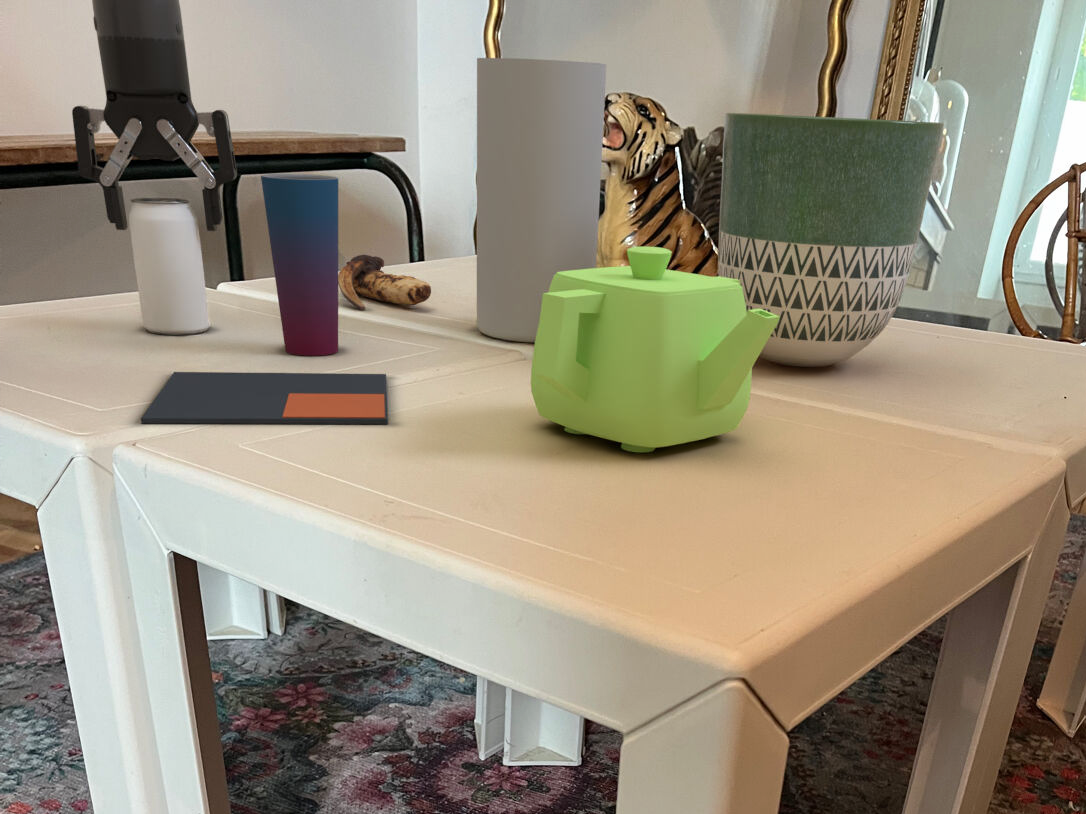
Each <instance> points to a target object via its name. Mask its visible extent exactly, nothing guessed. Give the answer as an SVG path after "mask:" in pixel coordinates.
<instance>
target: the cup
mask: <svg viewBox="0 0 1086 814" xmlns="http://www.w3.org/2000/svg"><path fill="white" fill-rule="evenodd" d="M260 181H261V186H262V194H263V200H264V208H265V215H266V223H267V229H268V237H269V243H270V251H271V256H272V257H271V259H272V264H273V265H272V266H273V273H274V279H275V280H274V281H275V286H276V287H275V288H276V294H277V301H278V307H279V309H278V310H279V313H280V314H279V315H280V316H279V317H280V321H281V329H282V336H283V345H284V350H285V352H286V353H287V354H291V355H295V356H303V357H318V356H319V357H320V356H329V355H334V354H336V353H338V352H339V284H338V275H339V177H337V176H333V175H325V174H324V175H323V174H308V173H307V174H305V173H267V174H261V175H260Z"/></svg>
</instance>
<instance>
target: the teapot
mask: <svg viewBox="0 0 1086 814" xmlns="http://www.w3.org/2000/svg"><path fill="white" fill-rule="evenodd" d="M626 253H627V258H628V262H629V265H621V266H607V267H606V266H605V267H596V268H592V269H580V270H570V271H561V272H557V273H556V275H554V277H553V279H552V282H551V285H550V288H549V291H548V293H543V297H542V305H541V313H540V321H539V326H538V330H537V335H536V340H535V343H534V345H533V346H534V347H533V352H532V361H531V370H530V389H531V390H530V391H531V394H532V398H533V401H534V404H535V407H536V410H537V412H538V414H539V416H540V417H542V418H543V419H545V420H548V421H550V422H553V423H555V424H557V425H561V426H563V427H564V428H563V431H565V432H566V433H569V434H575V435H590V436H594V437H598V438H601V439H606V440H609V441H613V442H618V443H621V445H620V448H621V449H622V450H624V451H627V452H630V453H631V452H633V453H649V452H650V453H651V452H653V451H655V450H656V448H664V447H671V446H676V445H680V444H685V443H691V442H696V441H699V440H700V441H701V440H706V439H708V438H712V437H716V436H719V435H723V434H727V433H730V432H733V431H735V430H737V429H738V428H739V426H740V424H741V422H742V420H743V418H744V417H745V414H746V412H747V409H748V408H749V404H750V400H751V393H752V392H751V391H752V373H753V369H752V368H753V366H754V365H755V363H756V361H757V359H758V358H759V357H760V356H759V354H760V353H761V351H762V349H763V348H764V346H765V344H766V342H767V341H768V339H769V337H770V336H771V334H772V332H773V330H774V329H775V327H776V325H777V324H778V322H779V319H780V316H777V315H775V314H772V313H770V312H767V311H765V310H762V309H752V310H748V311H746V305H745V299H744V294H743V289H742V286H740V280H737V279H732V278H726V277H720V276H718V275H717V276H709V275H704V274H699V273H698V274H697V273H692V272H687V271H686V272H685V271H680V270H673V269H667V268H668V265H669V263H670V261H671V258H672V254H673V251H671V250H670V249H669V248H665V247H664V248H663V247H659V246H631V247H629V248H627V249H626Z"/></svg>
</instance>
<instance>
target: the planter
mask: <svg viewBox="0 0 1086 814" xmlns="http://www.w3.org/2000/svg"><path fill="white" fill-rule="evenodd" d="M944 127H945V124H944V123H943V122H936V121H935V122H934V121H933V122H931V121H917V120H916V121H915V120H914V121H912V120H897V119H896V120H895V119H894V120H893V119H876V118H875V119H874V118H857V117H855V118H853V117H852V118H851V117H835V116H833V117H832V116H811V115H791V114H790V115H789V114H768V113H767V114H766V113H743V112H726V113H725V115H724V127H723V143H722V162H721V163H722V165H721V167H722V168H721V184H720V185H721V186H720V203H719V225H718V246H717V247H718V248H717V249H718V250H717V276H720V277H726V278H732V279H737V280H740V286H742V289H743V294H744V299H745V305H746V311H748V310H752V309H762V310H765V311H767V312H770V313H772V314H775V315H777V316H780V319H779V322H778V324H777V325H776V327H775V329H774V330H773V332H772V334H771V336H770V337H769V339H768V341H767V342H766V344H765V346H764V348H763V349H762V351H761V353H760V354H759V356H758V357H761V358H763V359H765V360H767V361H770V362H772V363H776V364H779V365H783V366H789V367H797V368H798V367H799V368H819V367H828V366H832V365H836V364H839V363H841V362H844V361H846V360H848V359H850V358H852V357H853V356H855V355H857V354H858V353H859V352H861V351H862V350H863V349H865V348H867V346H869V345H870V344H871V343H872V342H873V341H874V340H875V339H876V338H878V336H879V335H880V334H881V333H882V332H883V331H884V329H885V328H886V327H887V325H888V324H889V323H890V321H891V319H892V317H893V316H894V314H895V312H896V310H897V308H898V306H899V303H900V301H901V298H902V297H903V294H904V291H905V289H906V286H907V283H908V279H909V277H910V276H909V275H910V273H911V268H912V264H913V260H914V255H915V252H916V248H917V244H918V239H919V235H920V231H921V227H922V223H923V219H924V214H925V211H926V205H927V201H928V197H929V192H930V187H931V184H932V179H933V176H934V171H935V168H936V164H937V159H938V155H939V150H940V145H941V141H942V137H943V132H944Z"/></svg>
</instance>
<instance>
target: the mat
mask: <svg viewBox="0 0 1086 814" xmlns="http://www.w3.org/2000/svg"><path fill="white" fill-rule="evenodd" d="M388 417H389V416H388V386H387V374H386V373H329V372H327V373H325V372H322V373H320V372H319V373H318V372H317V373H316V372H314V373H312V372H232V371H231V372H229V371H228V372H227V371H226V372H223V371H222V372H220V371H219V372H216V371H214V372H213V371H209V372H208V371H174V372H173V373H172V374H171V376H170V377H169V379H167V381H166V382H165V384H164V385H163V386H162V388H161V389H160V390H159V392H158V394H157V395H156V396H155V398H153V401H152V402H151V403H150V405H148V407H147V408H146V410H145V412H144V413H143V414H142V415H141V417H140V423H141V424H205V425H206V424H207V425H208V424H211V425H212V424H215V425H216V424H217V425H218V424H223V425H225V424H230V425H231V424H232V425H233V424H235V425H236V424H239V425H240V424H241V425H243V424H244V425H247V424H248V425H249V424H250V425H252V424H253V425H255V424H256V425H261V424H263V425H388V424H389V418H388Z"/></svg>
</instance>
